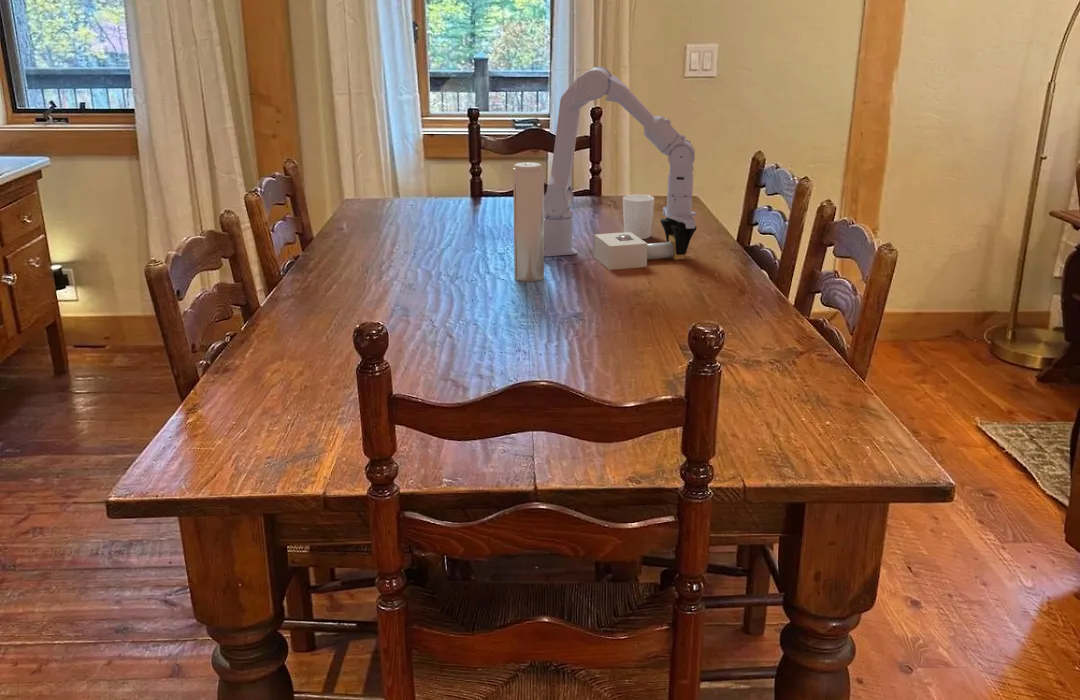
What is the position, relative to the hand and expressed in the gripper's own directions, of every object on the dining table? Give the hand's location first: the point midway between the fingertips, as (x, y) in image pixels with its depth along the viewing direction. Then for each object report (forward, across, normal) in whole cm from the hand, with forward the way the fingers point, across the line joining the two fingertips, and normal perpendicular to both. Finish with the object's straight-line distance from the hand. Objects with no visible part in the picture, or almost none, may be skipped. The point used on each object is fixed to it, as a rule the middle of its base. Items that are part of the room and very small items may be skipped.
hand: (676, 251), depth 221 cm
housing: (+1, 0, +14) cm, 14 cm away
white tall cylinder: (+2, -6, +38) cm, 38 cm away
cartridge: (+1, 0, +4) cm, 4 cm away
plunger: (-3, 0, +13) cm, 13 cm away
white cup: (+2, +22, +2) cm, 22 cm away
